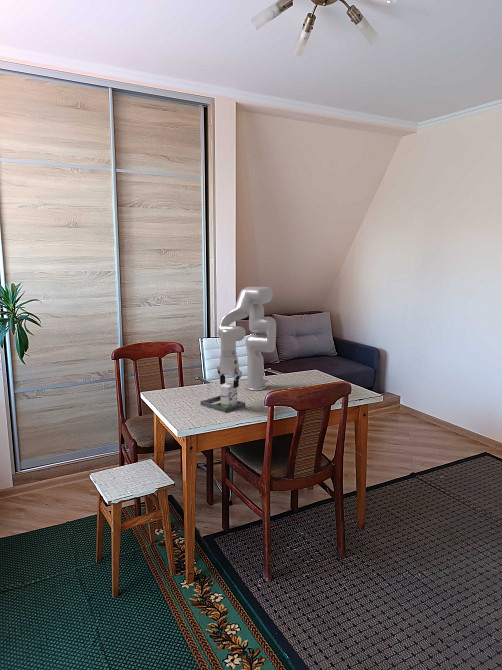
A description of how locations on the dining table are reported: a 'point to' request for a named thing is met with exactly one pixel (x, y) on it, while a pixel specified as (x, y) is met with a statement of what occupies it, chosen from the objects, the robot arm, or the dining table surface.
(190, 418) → the dining table surface
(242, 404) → the rail frame
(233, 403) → the ink box
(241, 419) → the dining table surface
